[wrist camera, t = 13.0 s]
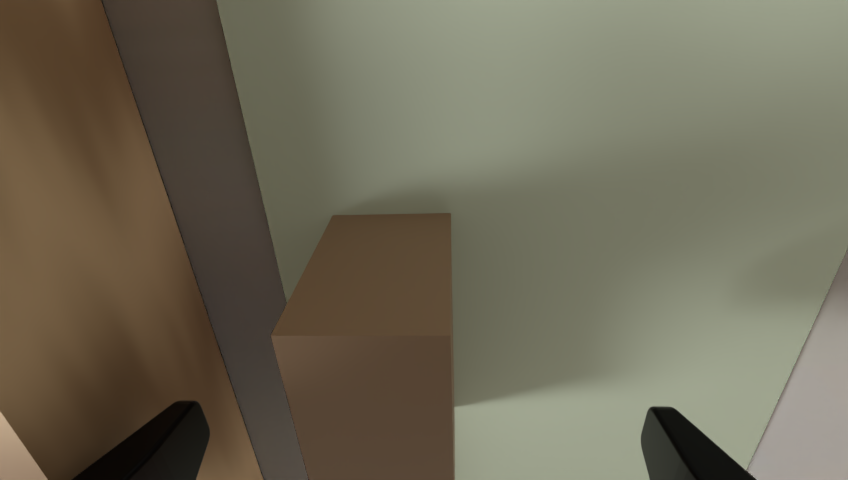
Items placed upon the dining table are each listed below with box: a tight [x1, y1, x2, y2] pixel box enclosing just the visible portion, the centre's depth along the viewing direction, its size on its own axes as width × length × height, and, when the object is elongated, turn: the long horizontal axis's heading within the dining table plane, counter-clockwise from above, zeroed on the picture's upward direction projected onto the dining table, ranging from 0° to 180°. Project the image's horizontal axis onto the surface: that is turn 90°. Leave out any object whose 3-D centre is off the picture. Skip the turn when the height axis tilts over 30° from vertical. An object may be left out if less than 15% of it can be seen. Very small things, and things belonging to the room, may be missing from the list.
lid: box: [216, 0, 848, 480], centre depth 9 cm, size 19×13×5 cm
